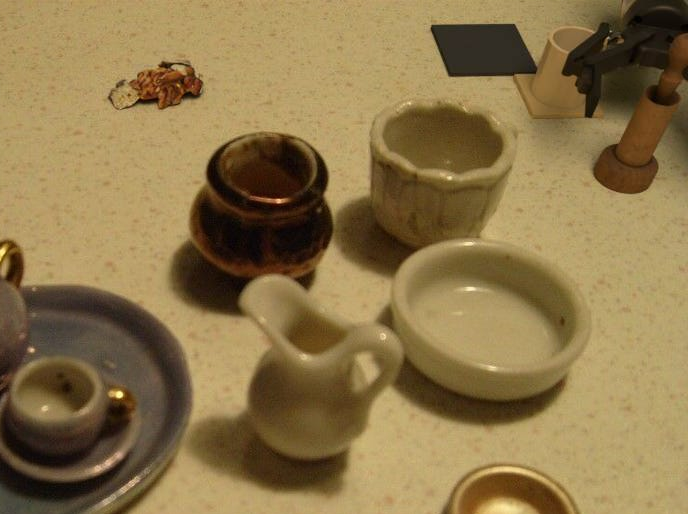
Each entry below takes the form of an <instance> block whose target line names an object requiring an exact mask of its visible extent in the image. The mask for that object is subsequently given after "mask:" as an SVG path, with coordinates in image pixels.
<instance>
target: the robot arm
mask: <svg viewBox="0 0 688 514" xmlns="http://www.w3.org/2000/svg"><path fill="white" fill-rule="evenodd" d="M620 21H621V23H620V31H616V30H614V29H612V28H611V27H612V26H611V23H609V22H607V21H602V22H600V23H599V25H598V28H597V30H596V31H595V33H594V34H593V35H591V36H590V37H589V38H588V39H586V40H585V41H584V42H582V43H581V44H580V45H579V46H577V47H576V48H575V49H573V50H572V51H571V52H570V53H569V54H568V56H567V59H566V61H565V64H564V67H563V69H562V72H561V74H562V75H564V76H567V77H569V76H572V75H575V76H576V77H577V80H576V82H575V86H576V87H577V91H578V93H579V94H585V95H586V101H585V117H586V118H587V119H593V117H592V116H593V114H594V112H595V109H596V107H597V105H599V103H600V100H601V98H602V94H601V93H602V78H603V76H605V75H607V74H609V73H611V72H614V71H616V70H618V69H622V70H626V69H628V68H631V67H632V66H635V65H636V66H638V67H642V68H654V69H657V70H659V71H664V70H666V69H667V68H668V67H669V65H670V58H669V48H670V45H671V43H672V41H673V40H674V39H675V38H676V37H678V36H679V35H681V34H685V33H688V0H621V19H620ZM612 44H616V45H615V46H612V47H610V46H611V45H612ZM607 46H608V47H610V48H608V47H607ZM606 48H607V50H606ZM601 49H602V50H605V51H603V52H600V51H601ZM681 74H682V75H683V80H685V81H686V82H688V66H686V67H685V68H684V69H683V70H682V73H681Z"/></svg>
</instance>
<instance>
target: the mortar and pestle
mask: <svg viewBox="0 0 688 514" xmlns="http://www.w3.org/2000/svg"><path fill="white" fill-rule="evenodd" d="M669 58H670V65H669V67H668V68H667V69H666V70H661V72H660V74H659V78H658V83H657V84H650V85H648V86H646V87H645V88H644V90H643V92H642V94H641V97H640V98H639V101H638V103H637V105H636V107H635V110H633V112H632V116H631V117H630V119H629V122H628V123H627V125H626V128H625V130H624V131H623V134H622V135H621V136H620V137H621V138H620V140H619V141H618V142H617V143H613V144H610V145H608V146H606V147H604V148H603V150H602V151H601V153H600V155H599V157H598V159H597V160H596V163H595V164H594V168H593V173H594V176H595V178H596V179H597V180H598V182H600V183H601V185H603V186H604V187H606V188H607V189H609V190H612V191H614V192H619V193H623V194H638V193H642V192H645V191H646V190H648V189H649V188H650V187H651V185H652V184H653V181H654V179H655V178H656V176H657V174H658V172H659V168H660V165H659V161H658V159H657V158H656V157H655V156H654V153H655V151H656V150H657V148H658V145H659V143H660V142H661V140H662V138H663V136H664V134H665V133H666V130H667V128H668V127H669V125H670V123H671V121H672V119H673V117H674V115H675V113H676V112H677V110H678V108H679V106H680V104H681V102H682V96H681V94H680V93H679V92H678V91H677V90H676V89H678V87H680V85H681V84H682V82H683V81H684V79H683V75H682V74H681V73H682V70H683V69H684V68H685V67H686V66H688V33H685V34H681V35H679V36H678V37H676V38H675V39H674V40H673V41H672V43H671V45H670V48H669Z"/></svg>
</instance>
